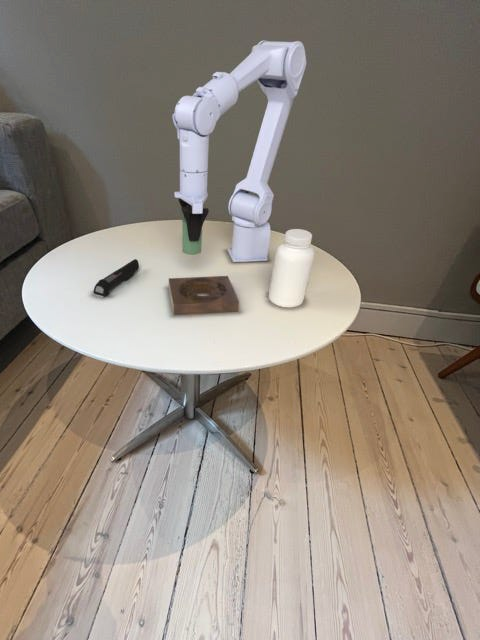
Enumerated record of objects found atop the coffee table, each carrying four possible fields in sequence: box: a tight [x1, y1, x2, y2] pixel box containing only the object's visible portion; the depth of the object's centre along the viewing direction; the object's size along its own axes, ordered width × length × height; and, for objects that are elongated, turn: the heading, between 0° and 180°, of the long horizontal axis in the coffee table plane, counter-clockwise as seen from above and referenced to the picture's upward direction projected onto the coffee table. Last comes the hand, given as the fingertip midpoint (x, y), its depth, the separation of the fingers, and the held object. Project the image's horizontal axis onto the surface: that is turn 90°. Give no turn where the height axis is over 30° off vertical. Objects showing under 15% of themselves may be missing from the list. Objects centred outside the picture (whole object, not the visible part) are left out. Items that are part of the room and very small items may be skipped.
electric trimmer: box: [93, 258, 140, 298], centre depth 92 cm, size 4×16×3 cm, turn 152°
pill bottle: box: [268, 228, 315, 308], centre depth 83 cm, size 8×8×15 cm
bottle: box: [181, 204, 203, 256], centre depth 87 cm, size 4×4×10 cm
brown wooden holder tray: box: [168, 275, 240, 316], centre depth 86 cm, size 14×12×2 cm
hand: (192, 236), depth 88 cm, fingers closed on bottle, 4 cm apart
